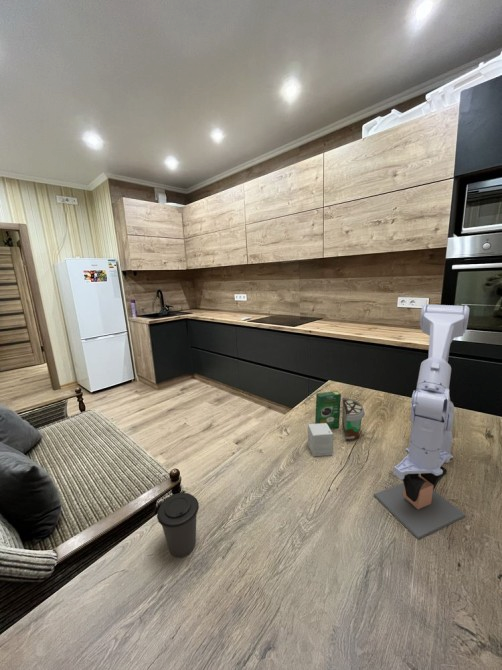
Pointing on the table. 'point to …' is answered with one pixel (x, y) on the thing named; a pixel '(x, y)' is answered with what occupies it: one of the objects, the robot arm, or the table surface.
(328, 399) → the coffee box
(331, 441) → the product box
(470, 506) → the table surface
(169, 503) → the coffee cup
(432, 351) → the robot arm
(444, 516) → the mat
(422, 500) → the block
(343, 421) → the food container
